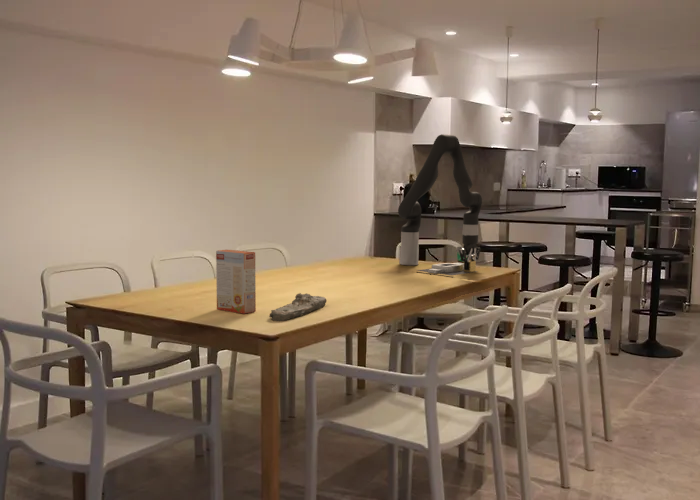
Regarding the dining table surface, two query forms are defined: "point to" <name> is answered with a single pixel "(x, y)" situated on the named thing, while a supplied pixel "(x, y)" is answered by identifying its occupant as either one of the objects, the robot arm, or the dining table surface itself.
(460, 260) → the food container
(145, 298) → the dining table surface
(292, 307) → the elongated rock
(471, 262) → the tan small block
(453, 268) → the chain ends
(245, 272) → the cracker box
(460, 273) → the mat
